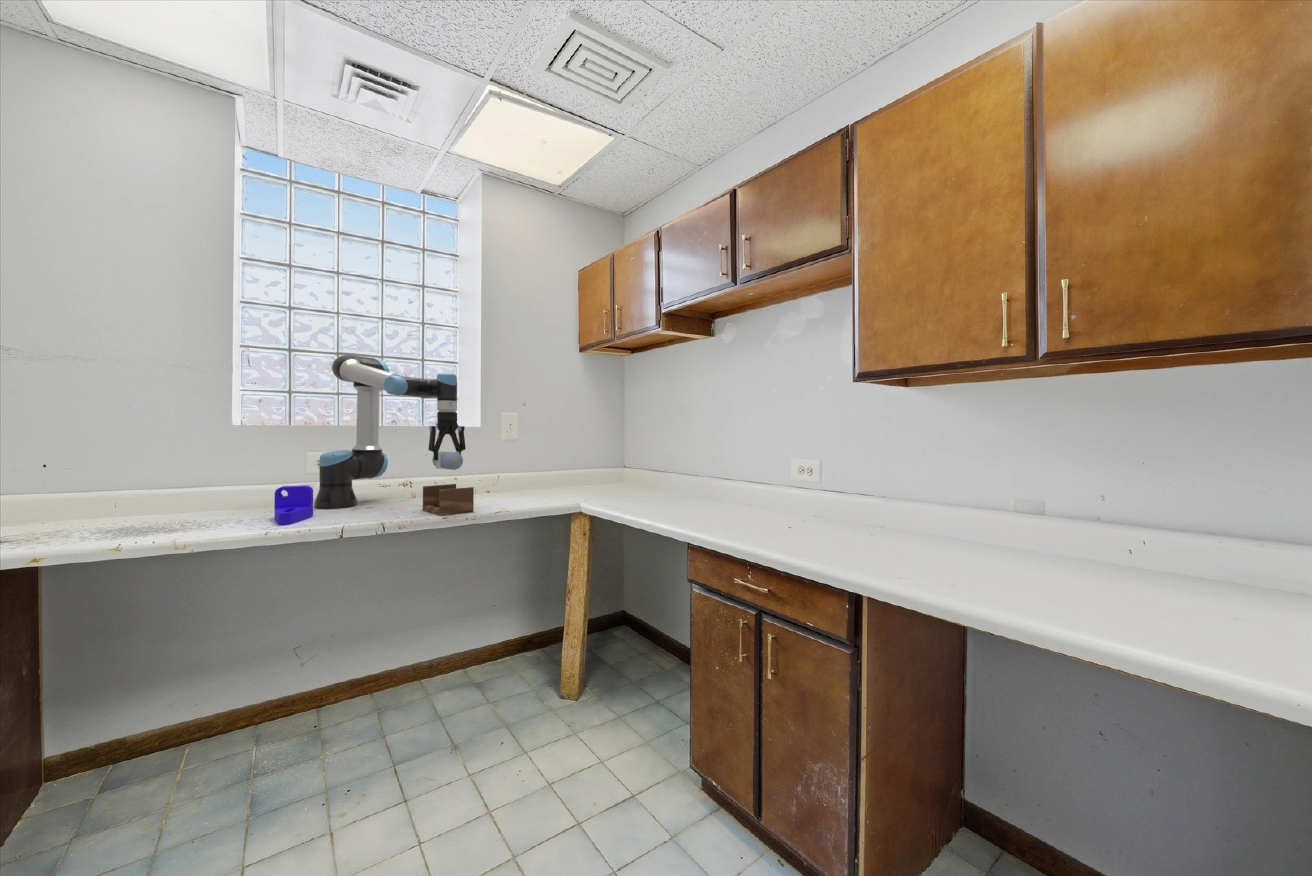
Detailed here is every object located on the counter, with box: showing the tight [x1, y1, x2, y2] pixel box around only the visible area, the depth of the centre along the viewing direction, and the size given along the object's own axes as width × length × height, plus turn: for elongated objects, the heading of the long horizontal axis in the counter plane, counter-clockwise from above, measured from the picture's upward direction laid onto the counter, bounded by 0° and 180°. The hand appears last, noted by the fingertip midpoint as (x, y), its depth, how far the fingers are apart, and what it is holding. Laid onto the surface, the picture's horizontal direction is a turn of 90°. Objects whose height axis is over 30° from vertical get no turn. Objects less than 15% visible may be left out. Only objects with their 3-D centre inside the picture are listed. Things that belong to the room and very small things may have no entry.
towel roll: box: [432, 450, 464, 471], centre depth 200 cm, size 12×7×7 cm, turn 48°
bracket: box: [274, 484, 314, 526], centre depth 177 cm, size 18×11×12 cm, turn 26°
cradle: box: [422, 483, 475, 517], centre depth 200 cm, size 16×13×10 cm
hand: (447, 467), depth 200 cm, fingers closed on towel roll, 7 cm apart
